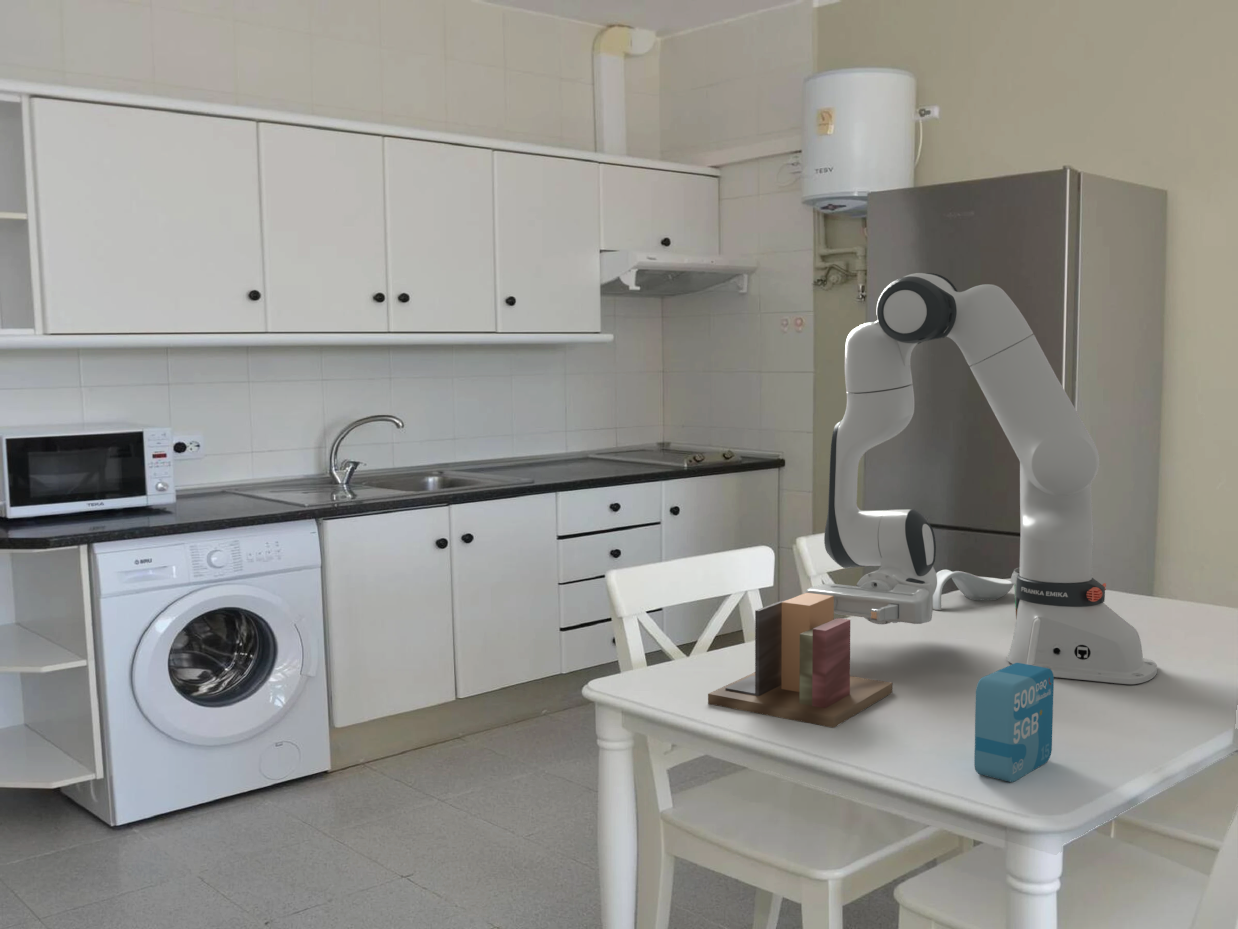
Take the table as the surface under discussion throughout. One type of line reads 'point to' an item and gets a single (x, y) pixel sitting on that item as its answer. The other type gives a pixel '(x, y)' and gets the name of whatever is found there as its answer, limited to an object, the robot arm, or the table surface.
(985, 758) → the data package
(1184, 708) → the table surface
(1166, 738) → the table surface
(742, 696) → the wooden bookend stand
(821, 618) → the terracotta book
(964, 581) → the spoon rest
